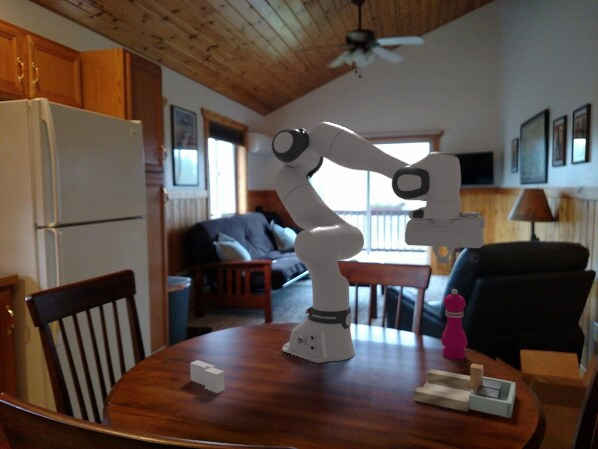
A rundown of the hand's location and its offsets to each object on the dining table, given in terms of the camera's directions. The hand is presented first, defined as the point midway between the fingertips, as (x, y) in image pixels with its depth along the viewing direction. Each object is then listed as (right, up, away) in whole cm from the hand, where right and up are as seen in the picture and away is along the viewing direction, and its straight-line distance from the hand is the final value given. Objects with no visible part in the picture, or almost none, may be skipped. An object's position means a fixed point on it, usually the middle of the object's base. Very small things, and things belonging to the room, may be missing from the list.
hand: (443, 263), depth 118 cm
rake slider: (+1, -29, -19) cm, 34 cm away
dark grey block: (+5, -29, -18) cm, 35 cm away
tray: (+4, -30, -20) cm, 37 cm away
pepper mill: (+7, -29, +11) cm, 31 cm away
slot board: (-4, -30, -15) cm, 34 cm away
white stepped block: (-63, -31, -8) cm, 70 cm away
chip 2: (+3, -30, -22) cm, 37 cm away
